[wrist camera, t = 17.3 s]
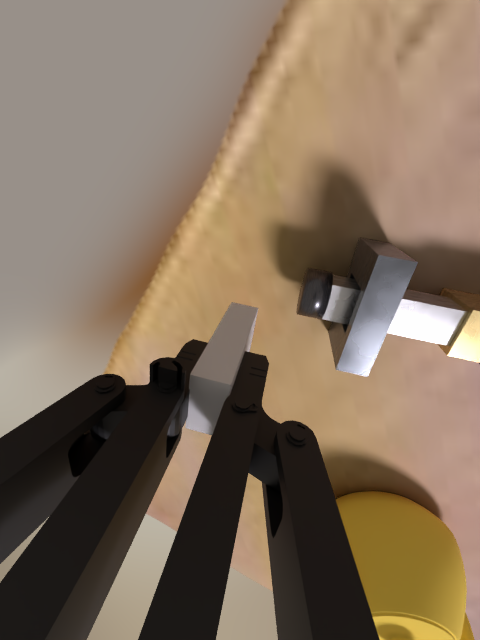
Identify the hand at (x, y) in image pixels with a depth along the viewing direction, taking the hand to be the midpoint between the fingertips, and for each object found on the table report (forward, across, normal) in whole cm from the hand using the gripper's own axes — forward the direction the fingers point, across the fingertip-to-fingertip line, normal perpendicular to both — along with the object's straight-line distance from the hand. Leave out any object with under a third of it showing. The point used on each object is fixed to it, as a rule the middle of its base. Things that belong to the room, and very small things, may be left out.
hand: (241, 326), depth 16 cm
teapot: (+12, +23, -34) cm, 43 cm away
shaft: (+12, +10, -1) cm, 15 cm away
